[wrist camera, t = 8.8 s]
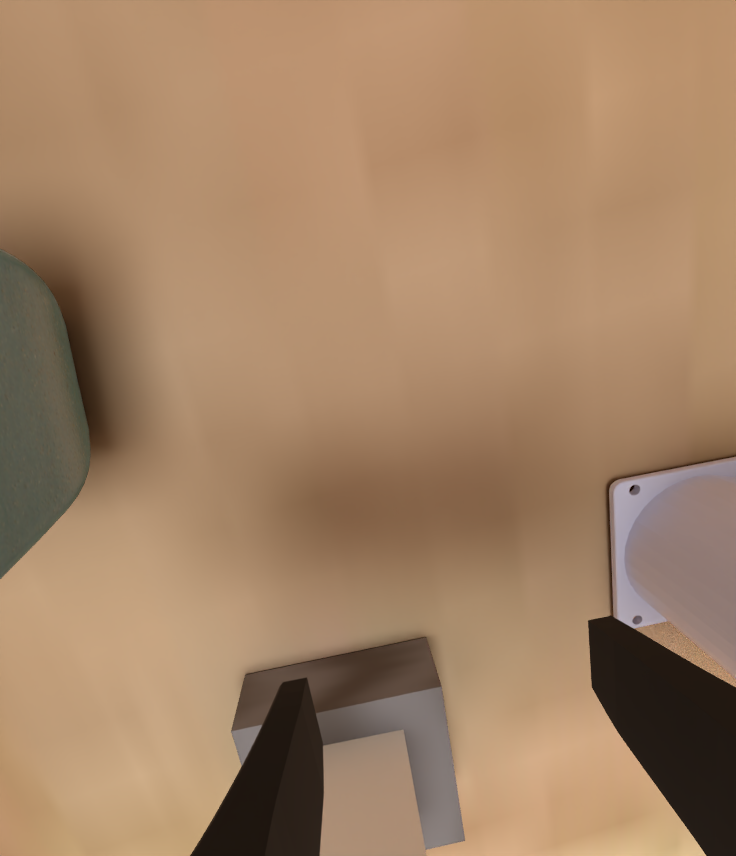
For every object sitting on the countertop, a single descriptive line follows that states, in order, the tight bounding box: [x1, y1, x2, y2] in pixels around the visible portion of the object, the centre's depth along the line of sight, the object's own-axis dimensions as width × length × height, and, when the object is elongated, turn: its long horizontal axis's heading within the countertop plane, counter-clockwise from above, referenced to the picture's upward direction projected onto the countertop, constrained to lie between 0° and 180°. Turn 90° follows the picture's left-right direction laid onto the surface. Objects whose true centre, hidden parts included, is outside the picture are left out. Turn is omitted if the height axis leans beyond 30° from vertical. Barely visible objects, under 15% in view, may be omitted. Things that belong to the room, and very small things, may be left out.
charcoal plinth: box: [231, 637, 465, 850], centre depth 21 cm, size 9×9×3 cm
